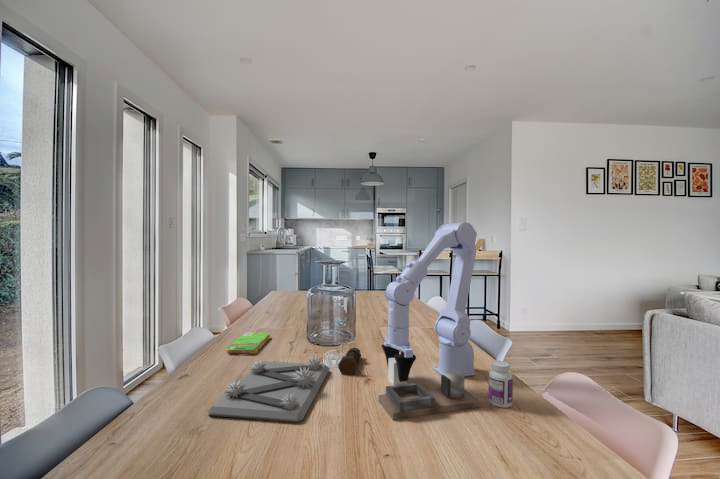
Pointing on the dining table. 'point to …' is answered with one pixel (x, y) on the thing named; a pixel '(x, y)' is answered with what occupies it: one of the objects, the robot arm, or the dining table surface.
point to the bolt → (349, 362)
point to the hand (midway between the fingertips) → (397, 375)
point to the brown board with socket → (428, 398)
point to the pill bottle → (500, 385)
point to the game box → (249, 343)
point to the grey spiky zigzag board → (273, 391)
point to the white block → (393, 372)
